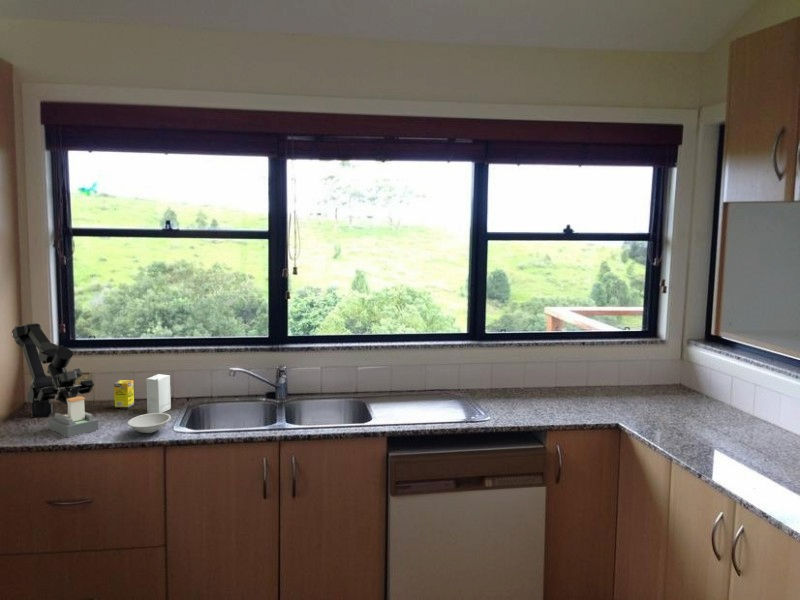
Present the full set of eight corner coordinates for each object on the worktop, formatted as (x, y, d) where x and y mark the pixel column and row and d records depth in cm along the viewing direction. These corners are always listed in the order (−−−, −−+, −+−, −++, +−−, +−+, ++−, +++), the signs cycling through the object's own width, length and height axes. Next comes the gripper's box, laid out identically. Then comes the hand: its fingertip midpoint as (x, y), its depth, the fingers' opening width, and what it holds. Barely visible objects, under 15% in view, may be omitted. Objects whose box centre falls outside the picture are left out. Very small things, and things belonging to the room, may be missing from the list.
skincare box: (159, 408, 270) (158, 373, 268) (171, 409, 268) (170, 374, 266) (146, 413, 262) (145, 378, 260) (159, 414, 260) (158, 379, 258)
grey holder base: (49, 428, 241) (48, 413, 240) (78, 421, 250) (78, 406, 249) (68, 437, 231) (67, 421, 230) (98, 430, 240) (97, 414, 239)
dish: (158, 441, 229) (158, 427, 228) (119, 439, 229) (118, 426, 229) (178, 425, 246) (178, 413, 246) (142, 424, 247) (141, 412, 246)
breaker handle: (67, 420, 237) (66, 398, 236) (81, 417, 241) (80, 396, 240) (71, 422, 235) (70, 400, 234) (85, 419, 239) (84, 397, 238)
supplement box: (128, 409, 268) (127, 383, 267) (114, 408, 268) (113, 383, 267) (134, 405, 274) (133, 380, 272) (120, 404, 274) (119, 379, 273)
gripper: (39, 366, 233) (54, 401, 227) (90, 358, 247) (105, 391, 242) (31, 384, 239) (45, 418, 233) (82, 375, 253) (96, 408, 247)
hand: (74, 408), depth 238 cm, fingers closed, pressing on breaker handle
